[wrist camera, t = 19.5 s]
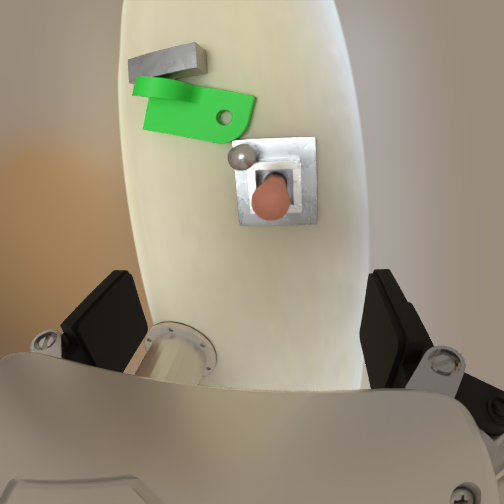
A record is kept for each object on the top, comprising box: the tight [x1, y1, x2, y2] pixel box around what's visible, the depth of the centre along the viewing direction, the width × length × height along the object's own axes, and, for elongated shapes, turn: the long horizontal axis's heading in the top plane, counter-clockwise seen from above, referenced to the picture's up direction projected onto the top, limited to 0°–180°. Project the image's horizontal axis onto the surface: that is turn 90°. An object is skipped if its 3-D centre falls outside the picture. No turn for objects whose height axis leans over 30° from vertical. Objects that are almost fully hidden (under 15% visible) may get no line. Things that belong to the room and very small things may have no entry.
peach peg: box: [251, 171, 290, 221], centre depth 28 cm, size 3×3×9 cm
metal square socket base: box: [228, 137, 317, 226], centre depth 30 cm, size 10×9×5 cm
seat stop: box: [128, 42, 207, 84], centre depth 26 cm, size 3×8×4 cm, turn 94°
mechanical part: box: [132, 76, 256, 143], centre depth 27 cm, size 12×6×8 cm, turn 76°
